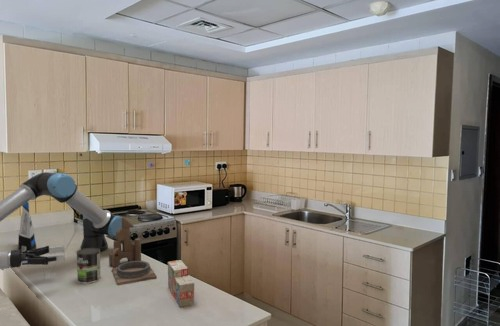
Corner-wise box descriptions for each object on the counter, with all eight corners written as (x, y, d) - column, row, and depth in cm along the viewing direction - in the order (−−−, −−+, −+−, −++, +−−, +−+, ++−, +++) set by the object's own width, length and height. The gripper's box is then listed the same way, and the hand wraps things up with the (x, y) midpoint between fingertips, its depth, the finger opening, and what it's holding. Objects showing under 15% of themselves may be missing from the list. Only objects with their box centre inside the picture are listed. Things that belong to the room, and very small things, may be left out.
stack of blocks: (194, 304, 151) (194, 275, 150) (179, 307, 148) (179, 277, 147) (181, 285, 170) (181, 259, 169) (167, 287, 168) (167, 261, 167)
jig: (111, 270, 187) (111, 262, 187) (147, 265, 196) (147, 257, 195) (117, 285, 170) (117, 276, 169) (156, 278, 178) (156, 269, 177)
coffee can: (89, 285, 170) (88, 255, 168) (72, 282, 173) (71, 252, 172) (105, 277, 179) (104, 248, 178) (88, 274, 183) (88, 246, 182)
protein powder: (21, 256, 210) (18, 204, 207) (15, 245, 228) (13, 198, 226) (40, 252, 216) (38, 202, 213) (33, 243, 234) (30, 196, 232)
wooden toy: (113, 268, 191) (112, 221, 189) (109, 265, 196) (107, 218, 194) (142, 262, 200) (141, 216, 199) (137, 258, 206) (136, 214, 204)
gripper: (13, 259, 172) (64, 253, 182) (6, 277, 150) (65, 269, 159) (13, 243, 171) (64, 238, 181) (6, 259, 149) (64, 252, 159)
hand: (64, 252), depth 170 cm, fingers open, 13 cm apart
